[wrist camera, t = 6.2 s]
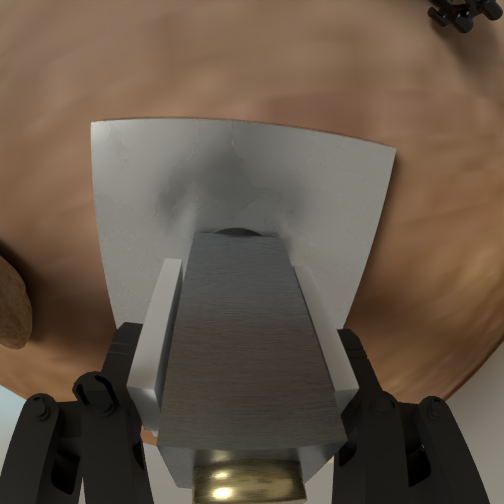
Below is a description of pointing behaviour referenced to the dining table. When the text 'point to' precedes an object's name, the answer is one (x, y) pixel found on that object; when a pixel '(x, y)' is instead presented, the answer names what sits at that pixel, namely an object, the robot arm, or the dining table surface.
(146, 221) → the grey base with knobs
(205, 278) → the block
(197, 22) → the dining table surface
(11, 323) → the stone cup
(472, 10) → the valve
